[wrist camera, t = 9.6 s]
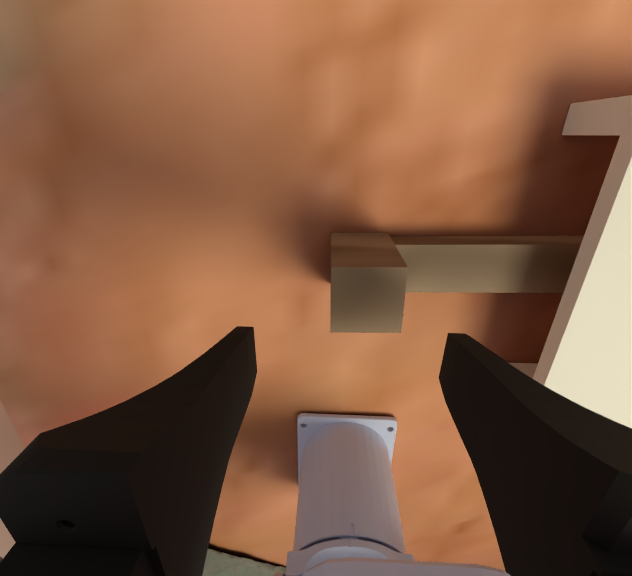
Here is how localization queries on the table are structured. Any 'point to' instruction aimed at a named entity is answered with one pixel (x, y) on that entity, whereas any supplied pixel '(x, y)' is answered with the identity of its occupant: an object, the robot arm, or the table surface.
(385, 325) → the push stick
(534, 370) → the plinth shelf
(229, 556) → the stone slab
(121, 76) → the table surface
